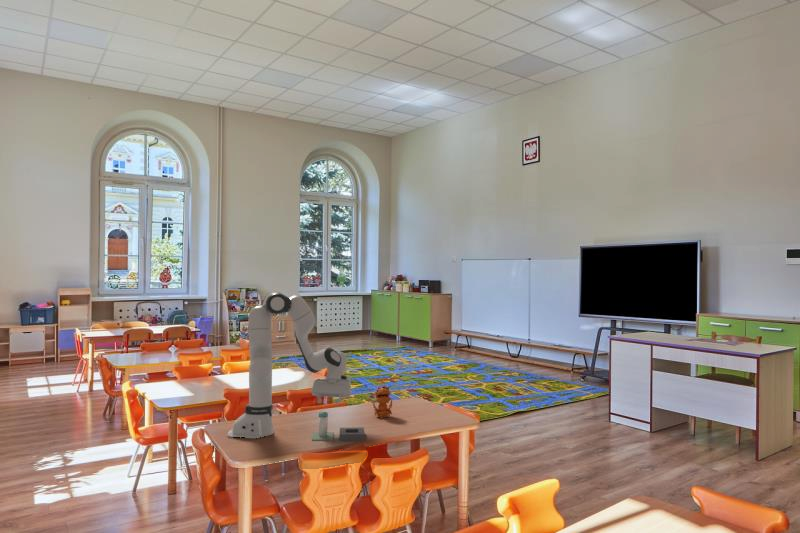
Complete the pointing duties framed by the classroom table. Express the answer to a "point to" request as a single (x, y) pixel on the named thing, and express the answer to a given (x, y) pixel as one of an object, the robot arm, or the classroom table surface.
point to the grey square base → (352, 434)
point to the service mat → (317, 438)
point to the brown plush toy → (383, 402)
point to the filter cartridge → (323, 424)
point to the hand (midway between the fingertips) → (328, 402)
